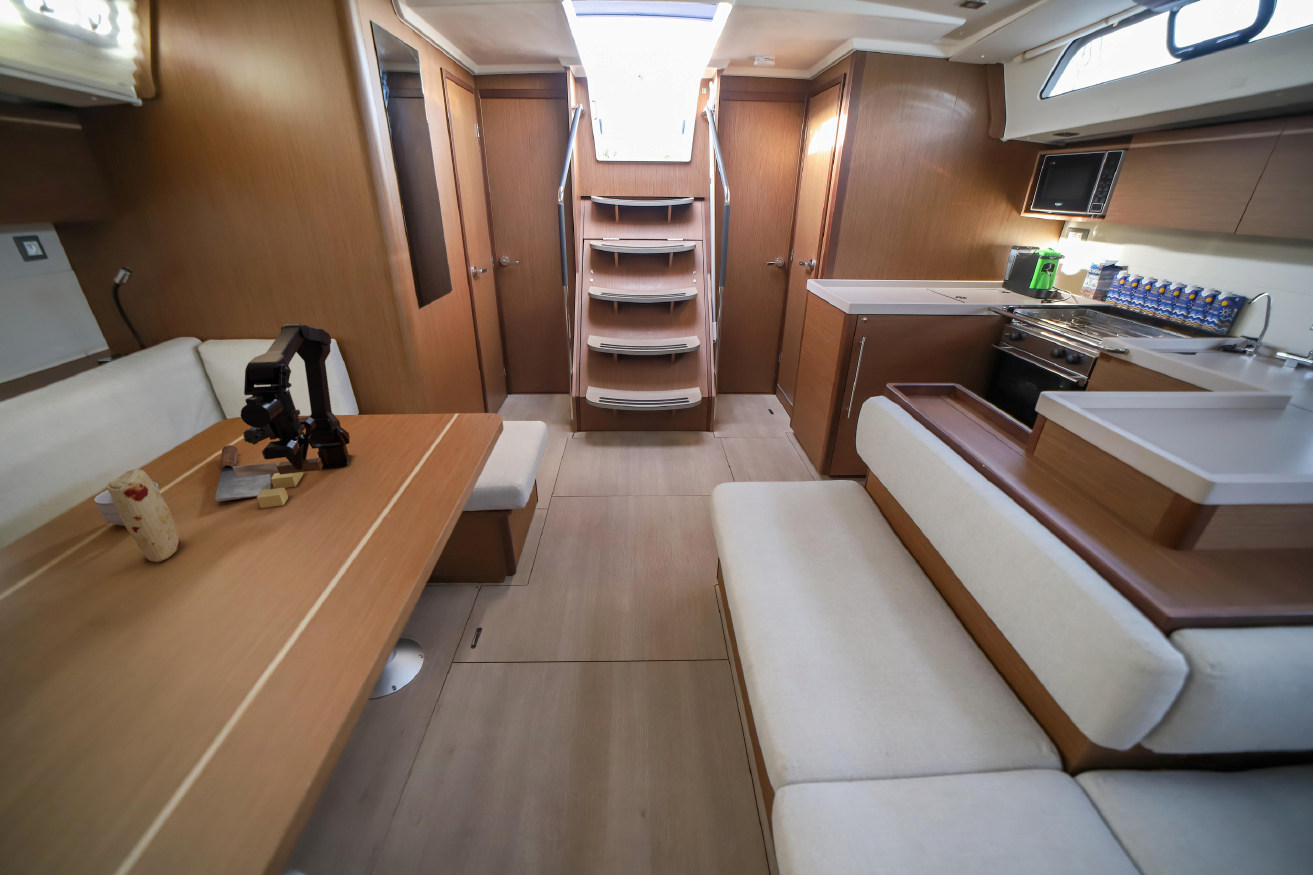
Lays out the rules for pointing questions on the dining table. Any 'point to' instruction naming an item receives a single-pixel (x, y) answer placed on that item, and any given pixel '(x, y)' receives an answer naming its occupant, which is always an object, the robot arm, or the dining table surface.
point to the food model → (145, 514)
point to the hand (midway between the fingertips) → (300, 466)
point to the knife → (277, 468)
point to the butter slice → (272, 497)
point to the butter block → (286, 480)
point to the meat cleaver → (237, 479)
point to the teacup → (110, 507)
